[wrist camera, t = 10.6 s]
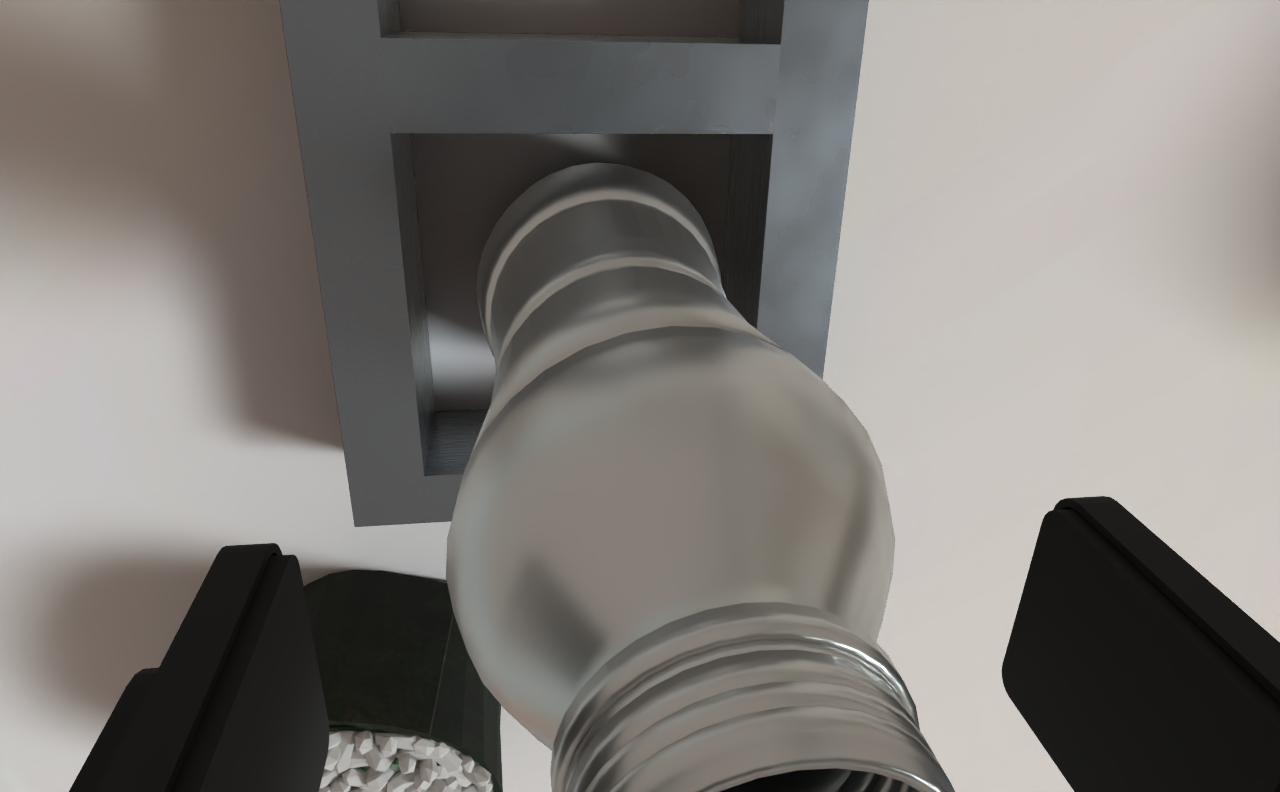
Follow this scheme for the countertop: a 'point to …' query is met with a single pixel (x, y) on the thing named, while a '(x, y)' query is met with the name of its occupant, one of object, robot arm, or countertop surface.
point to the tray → (549, 104)
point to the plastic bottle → (670, 519)
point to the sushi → (400, 688)
